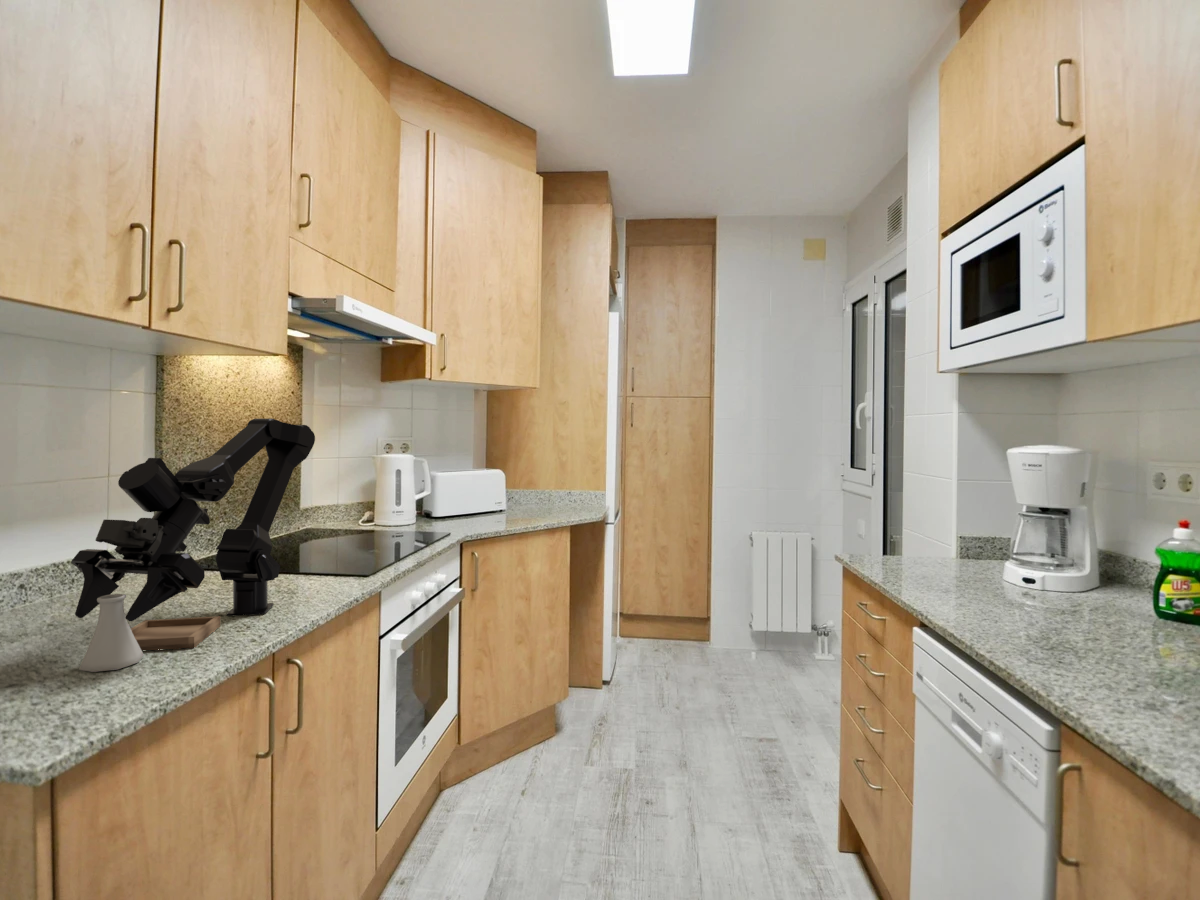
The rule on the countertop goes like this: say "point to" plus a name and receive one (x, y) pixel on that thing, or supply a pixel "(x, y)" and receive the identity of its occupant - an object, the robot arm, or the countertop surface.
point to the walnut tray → (174, 632)
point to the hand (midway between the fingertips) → (102, 618)
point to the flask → (111, 638)
